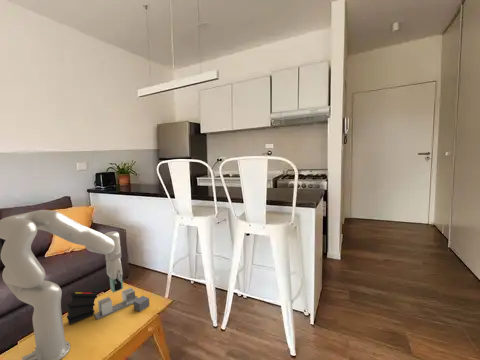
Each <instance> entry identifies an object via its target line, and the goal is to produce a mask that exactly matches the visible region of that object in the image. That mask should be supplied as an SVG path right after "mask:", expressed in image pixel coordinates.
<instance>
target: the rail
mask: <svg viewBox="0 0 480 360" xmlns="http://www.w3.org/2000/svg"><path fill="white" fill-rule="evenodd" d="M121 295H122V296H121V297H122V301H121V302H119V303H117V304H115V305H113V301H112V300H113V299H111V298H110V297H109V296H106V297H104V298H101V299H100V300H97V304H98V312H96V313H94V315H93V316H94V318H95V320H97V321H98V320H100V319H103V318H105V317H107V316H109V315H111V314H113V313H116V312H118V311H120V310H122V309H124V308H127V307H129V306H131V305H134V302H133V301H135V300H136V299H138V298H139V296H137V295H136V292H135V290H134V288H132V287H129V288H126V289H123V290H122V291H121Z"/></svg>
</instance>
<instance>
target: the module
mask: <svg viewBox="0 0 480 360" xmlns="http://www.w3.org/2000/svg"><path fill="white" fill-rule="evenodd" d="M108 278H109V287H110V288H109V289H110V291H111V292H112V293H115V292H116V293H117V292H118V291H121V290H124V281H123V276H122V277H121V279H122V280H121V287H122V289H120V290H117V291H115V286H114V284H115V280H113V279H111V278H110V277H109V276H108ZM117 280H118V279H116V281H117Z"/></svg>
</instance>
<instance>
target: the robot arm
mask: <svg viewBox="0 0 480 360" xmlns="http://www.w3.org/2000/svg"><path fill="white" fill-rule="evenodd" d="M39 230H40V231H45V232H47V233H50V234H52V235H54V236H56V237H58V238H61V239H63V240H65V241H67V242H68V243H71V244H75V245H79V246H85V249H86V250H87V251H89V252H91V253H96V254H101V255H104V258H105V265H106V275H107V276H108V278H109V277H110V278H111V279H113V280H115V284H114V286H115V291H116V292H118V291H117V290H119V291H121V290H123V289H122V287H121V280H122V281H123V267H122V262H121V258H122V247H121V237H120V232H118V231H115V230H114V231H112V230H111V231H108V232H106V233H102V232H100V231H97V230H95V229H93V228H90V227H89V226H86V225H83V224H81V223H79V222H77V221H76V220H75V219H72V218H71V217H69V216H67V215H66V214H63V213H62V212H60V211H55V210H50V209H39V210H34V211H29V212H25V213H18V214H14V215H10V216H7V217H3V218H1V219H0V239H1V240H5V241H4V242H3V245H2V247H1V249H0V250H1V251H0V260H1V262H2V264H3V265H4V268H3V271H2V274H1V275H2V281H3V282H4V284H6V286H7V287H8V288H9V290H10V291H11V292H12V293H13V295H14V296H15V297H16V299H18V300H19V301H20V302H22V303H24V304H27V305H29V306H32V307H33V313H32V327H33V334H34V340H35V341H34V342H35V347H34V350H32V352H30V353H29V354H27V355H26V354H25V355H24V356H22V357H21V358H22V359H21V360H62V359H63V358H64V357H66V356H67V354H68V353H69V351H71V343H70V342H69V341H67V340H66V338H65V337H66V336H65V330H64V329H65V328H64V321H63V315H62V314H63V313H62V297H63V295H62V294H63V293H62V292H63V291H62V288H61V287H60V285H58V284H57V283H55V282H52V281H48V280H45V279H46V271H45V269H44V266H42V264H41V263H40V261H39V260H38V259H37V257H36V256H35V254H34V253H33V251H32V244H33V241H34V239H35V238H36V236H37V234H38V231H39ZM121 277H122V279H121ZM116 279H118V280H117V281H116ZM120 289H121V290H120Z"/></svg>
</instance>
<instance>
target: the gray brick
mask: <svg viewBox="0 0 480 360" xmlns="http://www.w3.org/2000/svg"><path fill="white" fill-rule="evenodd" d="M133 302H134V303H133V309H134V310H136V311H138V312H140V313H141V312H142V311H144V310H146V309H147V308H149V307H150V298H149V297H147V296H145V295H142V296H140V297H138V299H136V300H135V301H133Z"/></svg>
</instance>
